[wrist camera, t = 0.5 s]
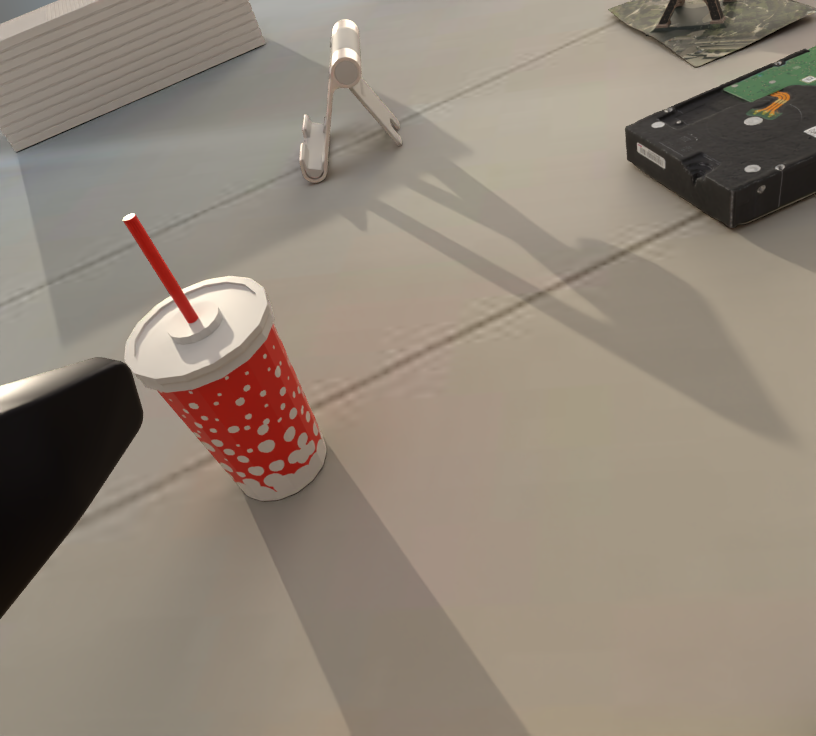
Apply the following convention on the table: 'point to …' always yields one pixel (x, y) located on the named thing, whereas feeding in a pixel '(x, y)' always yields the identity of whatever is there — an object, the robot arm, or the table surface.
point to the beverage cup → (228, 378)
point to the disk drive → (737, 142)
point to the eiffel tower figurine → (709, 23)
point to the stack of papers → (108, 57)
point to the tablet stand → (341, 75)
